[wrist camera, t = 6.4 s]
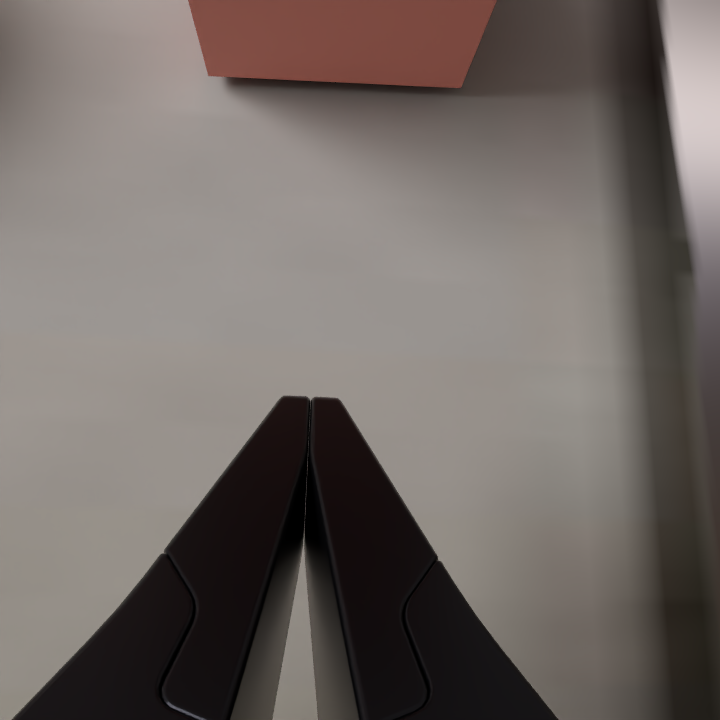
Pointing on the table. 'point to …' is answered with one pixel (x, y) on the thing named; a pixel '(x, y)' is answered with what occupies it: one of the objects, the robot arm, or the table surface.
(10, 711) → the table surface
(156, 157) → the table surface
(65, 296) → the table surface
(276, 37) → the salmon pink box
